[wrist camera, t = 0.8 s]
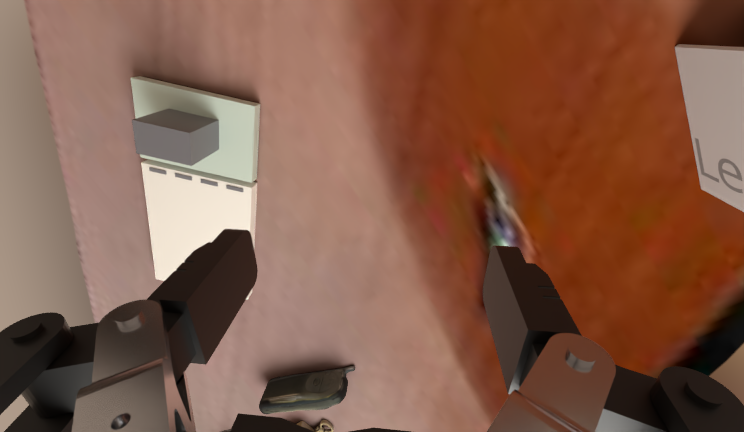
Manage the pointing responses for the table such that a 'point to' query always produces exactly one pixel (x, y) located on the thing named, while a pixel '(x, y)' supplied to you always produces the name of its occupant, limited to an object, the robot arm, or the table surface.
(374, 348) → the table surface
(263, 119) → the table surface
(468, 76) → the table surface
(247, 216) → the cream panel
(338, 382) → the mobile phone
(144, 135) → the stub
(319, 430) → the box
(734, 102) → the brochure
